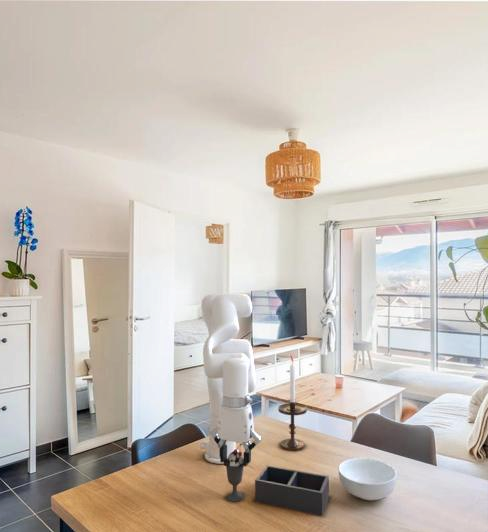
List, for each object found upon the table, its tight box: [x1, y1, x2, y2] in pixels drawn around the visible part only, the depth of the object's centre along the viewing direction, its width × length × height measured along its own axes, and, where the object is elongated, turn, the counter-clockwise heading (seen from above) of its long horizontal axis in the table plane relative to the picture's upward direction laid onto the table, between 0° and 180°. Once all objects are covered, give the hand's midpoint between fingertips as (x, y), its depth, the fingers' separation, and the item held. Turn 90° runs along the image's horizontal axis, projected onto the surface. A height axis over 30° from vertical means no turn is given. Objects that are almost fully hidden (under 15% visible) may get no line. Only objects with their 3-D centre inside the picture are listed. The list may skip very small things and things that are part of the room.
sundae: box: [222, 443, 245, 503], centre depth 117 cm, size 7×7×15 cm
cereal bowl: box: [338, 457, 398, 501], centre depth 120 cm, size 17×17×7 cm
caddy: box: [254, 464, 330, 517], centre depth 116 cm, size 10×19×6 cm, turn 69°
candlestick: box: [277, 354, 308, 452], centre depth 154 cm, size 11×11×35 cm
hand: (235, 461), depth 118 cm, fingers closed on sundae, 6 cm apart
